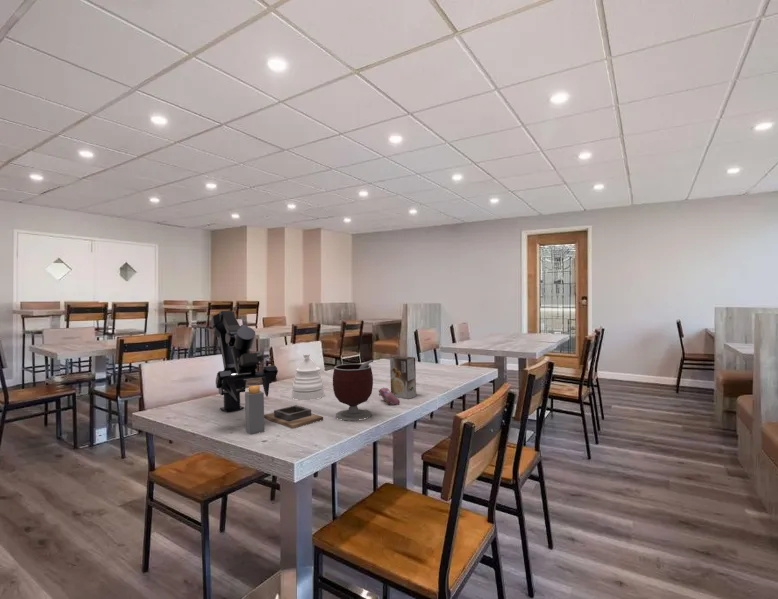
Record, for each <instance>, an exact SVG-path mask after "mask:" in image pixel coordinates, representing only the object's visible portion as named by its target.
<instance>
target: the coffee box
mask: <svg viewBox="0 0 778 599" xmlns="http://www.w3.org/2000/svg"><path fill="white" fill-rule="evenodd" d="M389 368H390V369H389V370H390V371H389V372H390V392H391V393H392V394H393V395H394V396H395V397H396V398H400V399H401V398H402V399H407V400H408V399H411V398H415V397H417V379H416V377H417V376H416V374H417V373H416V357H414V356H403V355H402V356H401V355H395V356H392V357H389Z"/></svg>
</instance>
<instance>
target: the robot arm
mask: <svg viewBox="0 0 778 599" xmlns="http://www.w3.org/2000/svg"><path fill="white" fill-rule="evenodd" d="M210 320H211V321H210V327H211V329H212V330H213V334H214V335H215V336H216V337H217V338H218V340H219V346H220V353H221V357H222V358H221V359H222V362H223V363H222V364H223V370H220V371H217V373H216V377H215V387H216V389H218V394H219V395H220V396H223V406H222V407H220V408H219V410H222V411H223V412H226V413H230V412H235V411H239V410H243V409H244V410H245V406H242V405H241V393H245V392H246V386H247V380H253V379H261V380H262V388H263V393H264V395H265V397H266V398H267V397H269V389H270V384H272V383H273V382H274V381H275V380H276V377H277V375H278V372H279V370H278V367H277V366H276V365H265V366H263V369H262V370H260V371H256V370H257V369H258V364H259V363H261V362H263V361H264V359H265V358H264V353H263V351H262V350H259V351H256V352H251V350H250V349H252V347H253V344H254V340H255V338H256V337H255V336H256V331H255V330H254V329H253V328H251V327H249V326H248V324H241V325H240V323H239V322H238V319H237V318H236V315H235V311H233V310H221V311H219V312H218V313H217V314H215V315H213V316H211V319H210Z"/></svg>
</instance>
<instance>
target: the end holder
mask: <svg viewBox="0 0 778 599" xmlns="http://www.w3.org/2000/svg"><path fill="white" fill-rule="evenodd" d="M265 418H266V420H268V421H271V422H273V423H277V424H278V425H282V426H285V427H288V428H290V429H296V427H297V428H299V426H300V427H304V426H306V424H307V425H310V423H311V424H313V422H314V423H317V422H316V421H318V422H320V420H321V421H324V417H323V416H322V415H319V414H315V413H312V409H311V408H307V407H303V406H301V405H298V404H296V405H291V406H287V407H282V408H279V409H274V410H273V412H270V413H264V419H265ZM303 425H304V426H303Z"/></svg>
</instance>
